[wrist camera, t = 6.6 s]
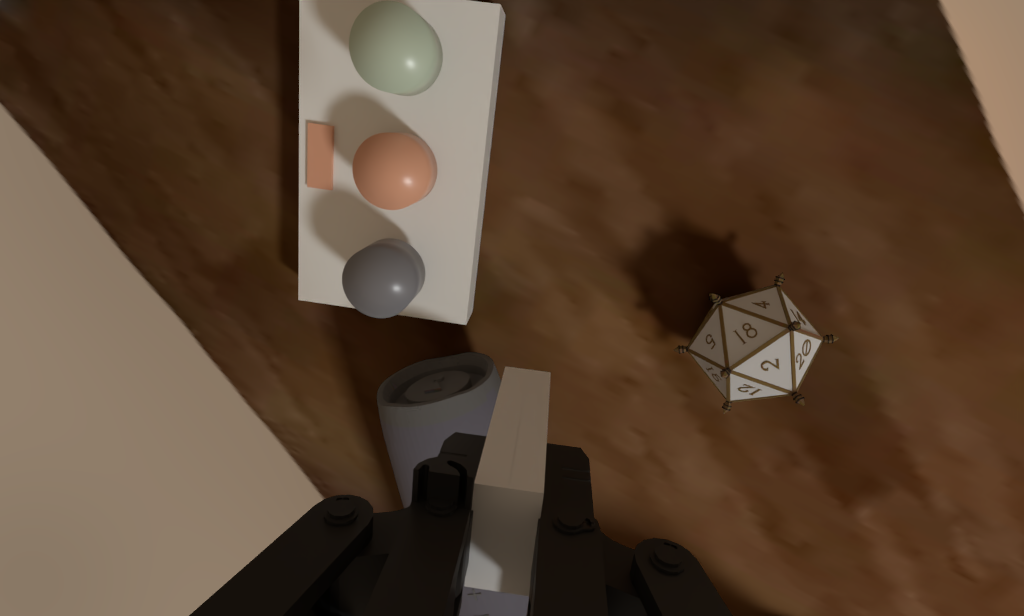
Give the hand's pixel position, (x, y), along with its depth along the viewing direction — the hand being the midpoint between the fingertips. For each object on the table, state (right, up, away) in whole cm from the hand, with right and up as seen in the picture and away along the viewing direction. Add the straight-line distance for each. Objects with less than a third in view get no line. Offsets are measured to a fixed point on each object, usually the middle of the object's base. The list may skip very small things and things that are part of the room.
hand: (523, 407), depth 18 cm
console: (-8, +13, +20) cm, 25 cm away
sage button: (-7, +18, +13) cm, 23 cm away
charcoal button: (-8, +6, +17) cm, 20 cm away
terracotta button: (-7, +12, +16) cm, 22 cm away
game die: (+16, +2, +21) cm, 27 cm away
